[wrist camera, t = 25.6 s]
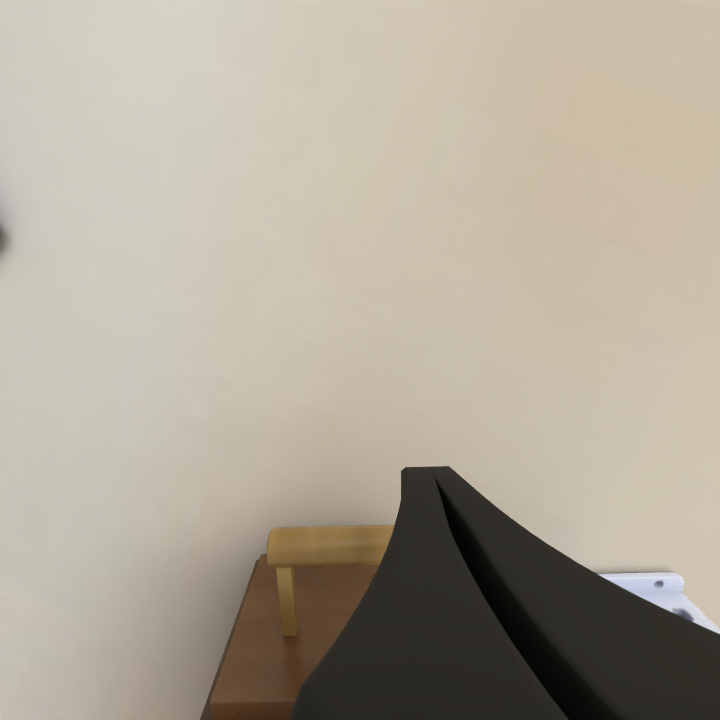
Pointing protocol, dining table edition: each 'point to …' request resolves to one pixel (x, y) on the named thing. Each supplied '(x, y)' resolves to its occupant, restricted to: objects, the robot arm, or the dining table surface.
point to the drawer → (294, 615)
